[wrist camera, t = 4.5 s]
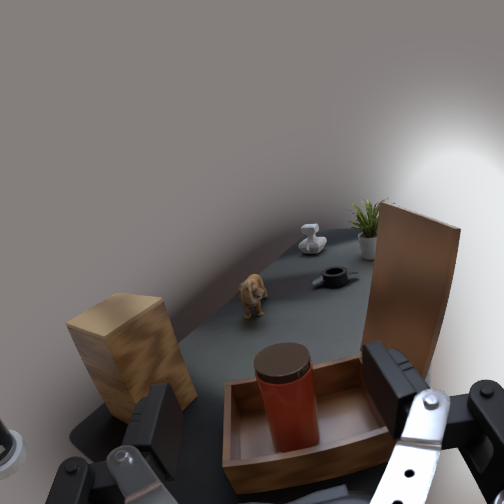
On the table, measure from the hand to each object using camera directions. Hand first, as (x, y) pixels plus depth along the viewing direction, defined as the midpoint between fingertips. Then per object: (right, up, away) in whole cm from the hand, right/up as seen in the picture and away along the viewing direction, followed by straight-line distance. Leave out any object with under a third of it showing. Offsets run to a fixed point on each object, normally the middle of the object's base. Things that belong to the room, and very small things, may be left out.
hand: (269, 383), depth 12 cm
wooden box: (+6, -16, +21) cm, 27 cm away
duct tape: (+19, -2, +61) cm, 64 cm away
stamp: (+18, +5, +85) cm, 87 cm away
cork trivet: (-19, -3, +26) cm, 32 cm away
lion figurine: (+1, -7, +56) cm, 57 cm away
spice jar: (+4, -16, +20) cm, 26 cm away
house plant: (+33, +4, +71) cm, 79 cm away
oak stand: (-16, -18, +31) cm, 39 cm away
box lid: (+13, 0, +16) cm, 21 cm away
